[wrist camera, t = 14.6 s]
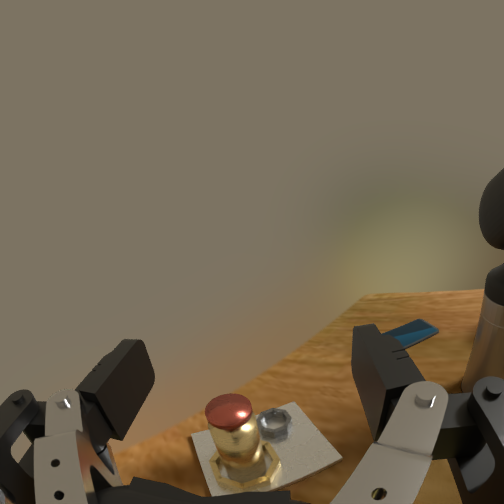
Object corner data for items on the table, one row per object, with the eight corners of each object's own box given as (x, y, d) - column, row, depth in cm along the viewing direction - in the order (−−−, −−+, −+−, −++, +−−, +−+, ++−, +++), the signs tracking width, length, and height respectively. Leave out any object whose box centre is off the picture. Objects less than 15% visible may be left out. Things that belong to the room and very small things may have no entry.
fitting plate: (294, 404, 41) (293, 394, 40) (342, 460, 28) (343, 451, 27) (192, 437, 35) (188, 427, 35) (217, 508, 22) (212, 502, 22)
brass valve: (257, 448, 32) (243, 387, 29) (272, 474, 27) (261, 416, 24) (221, 459, 30) (198, 400, 27) (233, 487, 25) (209, 432, 22)
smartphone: (370, 340, 55) (371, 337, 55) (419, 320, 58) (420, 317, 58) (390, 357, 48) (391, 353, 48) (440, 333, 51) (441, 329, 50)
